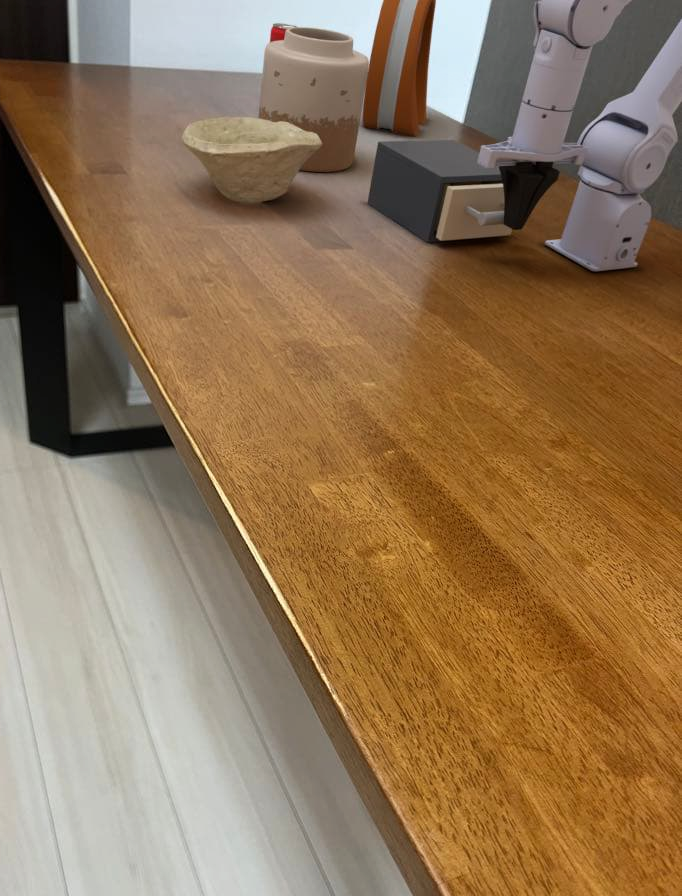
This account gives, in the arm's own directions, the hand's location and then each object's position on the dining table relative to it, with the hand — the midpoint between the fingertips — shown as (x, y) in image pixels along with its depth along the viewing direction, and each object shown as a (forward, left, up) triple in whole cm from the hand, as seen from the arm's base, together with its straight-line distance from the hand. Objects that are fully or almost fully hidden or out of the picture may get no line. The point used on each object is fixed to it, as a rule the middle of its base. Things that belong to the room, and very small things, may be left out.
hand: (512, 226), depth 104 cm
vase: (+43, +5, -5) cm, 43 cm away
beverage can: (+77, -8, -5) cm, 77 cm away
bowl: (+28, +22, -5) cm, 36 cm away
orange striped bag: (+61, -24, -5) cm, 66 cm away
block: (+12, 0, -2) cm, 12 cm away
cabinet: (+15, 0, -4) cm, 16 cm away
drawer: (+10, 0, -3) cm, 11 cm away
